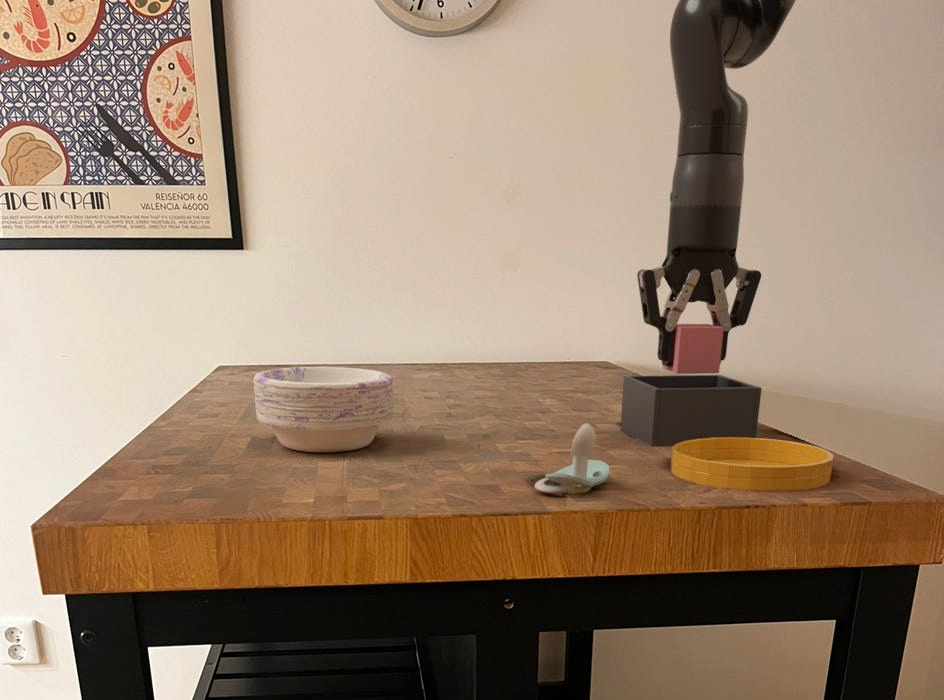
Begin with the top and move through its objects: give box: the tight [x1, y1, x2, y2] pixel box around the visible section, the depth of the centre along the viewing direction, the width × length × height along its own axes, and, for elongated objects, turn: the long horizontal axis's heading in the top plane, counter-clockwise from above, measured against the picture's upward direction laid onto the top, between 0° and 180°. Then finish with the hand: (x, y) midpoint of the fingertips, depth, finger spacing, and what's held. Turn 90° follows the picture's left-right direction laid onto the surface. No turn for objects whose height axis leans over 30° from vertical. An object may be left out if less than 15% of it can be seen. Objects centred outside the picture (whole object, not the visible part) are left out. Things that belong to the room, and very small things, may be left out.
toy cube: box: [662, 323, 724, 375], centre depth 110 cm, size 5×5×5 cm
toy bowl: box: [670, 437, 835, 492], centre depth 94 cm, size 15×15×2 cm
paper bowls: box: [253, 366, 394, 453], centre depth 107 cm, size 15×15×8 cm
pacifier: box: [534, 422, 611, 495], centre depth 87 cm, size 7×6×6 cm
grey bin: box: [620, 374, 762, 448], centre depth 112 cm, size 12×12×6 cm
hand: (691, 364), depth 110 cm, fingers closed on toy cube, 5 cm apart
